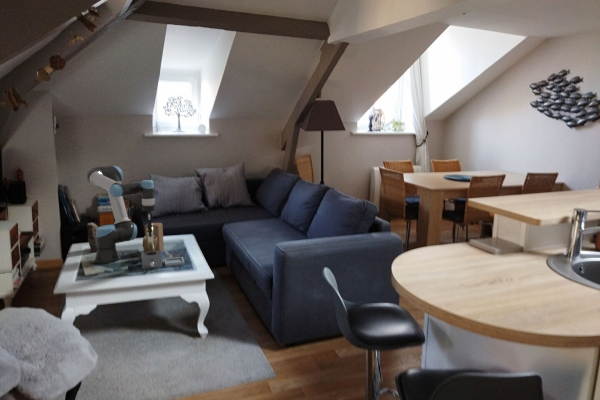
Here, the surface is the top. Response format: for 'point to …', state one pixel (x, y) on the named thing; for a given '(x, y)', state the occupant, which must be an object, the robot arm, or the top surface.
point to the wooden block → (157, 235)
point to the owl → (92, 236)
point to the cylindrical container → (149, 244)
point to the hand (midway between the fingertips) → (150, 240)
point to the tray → (174, 261)
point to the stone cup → (146, 245)
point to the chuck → (151, 259)
